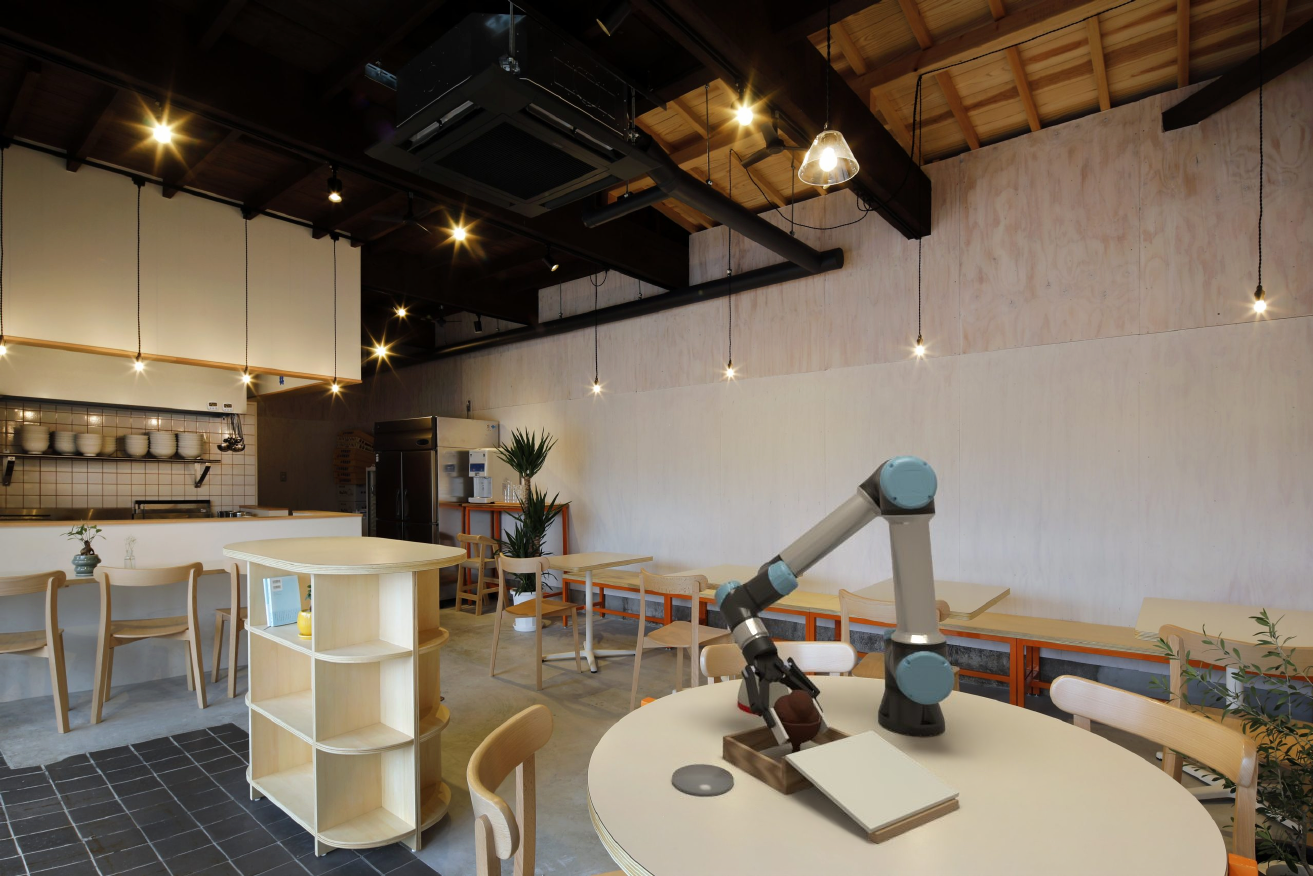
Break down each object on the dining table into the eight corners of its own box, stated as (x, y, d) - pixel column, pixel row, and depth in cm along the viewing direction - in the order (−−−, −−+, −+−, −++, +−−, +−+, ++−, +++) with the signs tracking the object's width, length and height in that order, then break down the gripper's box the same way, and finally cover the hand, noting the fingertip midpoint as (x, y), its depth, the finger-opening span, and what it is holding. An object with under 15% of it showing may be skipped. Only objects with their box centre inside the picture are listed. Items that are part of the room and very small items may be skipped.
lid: (962, 807, 116) (960, 765, 116) (873, 845, 103) (872, 799, 104) (871, 766, 133) (870, 730, 133) (785, 795, 120) (785, 755, 121)
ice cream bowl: (824, 755, 138) (823, 683, 139) (819, 777, 127) (818, 699, 129) (774, 748, 141) (774, 678, 143) (766, 769, 131) (765, 693, 132)
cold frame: (871, 766, 133) (871, 733, 133) (785, 795, 120) (785, 759, 121) (804, 736, 149) (804, 707, 149) (722, 758, 136) (722, 726, 137)
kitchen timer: (745, 695, 178) (745, 640, 179) (795, 702, 172) (795, 645, 174) (731, 711, 165) (731, 651, 166) (784, 719, 160) (784, 657, 161)
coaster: (744, 778, 127) (744, 774, 127) (715, 802, 117) (715, 798, 117) (692, 763, 134) (692, 759, 134) (660, 785, 124) (660, 781, 124)
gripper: (785, 646, 155) (835, 733, 141) (707, 659, 143) (753, 757, 128) (801, 628, 151) (854, 716, 137) (721, 640, 139) (771, 738, 124)
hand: (805, 736), depth 133 cm, fingers closed on ice cream bowl, 11 cm apart
